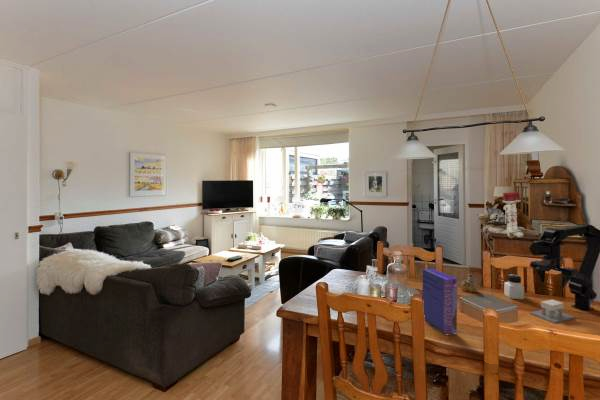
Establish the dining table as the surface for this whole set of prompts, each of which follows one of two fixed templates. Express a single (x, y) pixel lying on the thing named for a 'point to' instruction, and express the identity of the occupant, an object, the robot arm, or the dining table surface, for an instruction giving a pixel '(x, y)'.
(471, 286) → the ornament
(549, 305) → the stool
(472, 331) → the dining table surface
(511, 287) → the medicine bottle
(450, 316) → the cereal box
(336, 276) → the dining table surface
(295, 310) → the dining table surface
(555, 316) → the tile
